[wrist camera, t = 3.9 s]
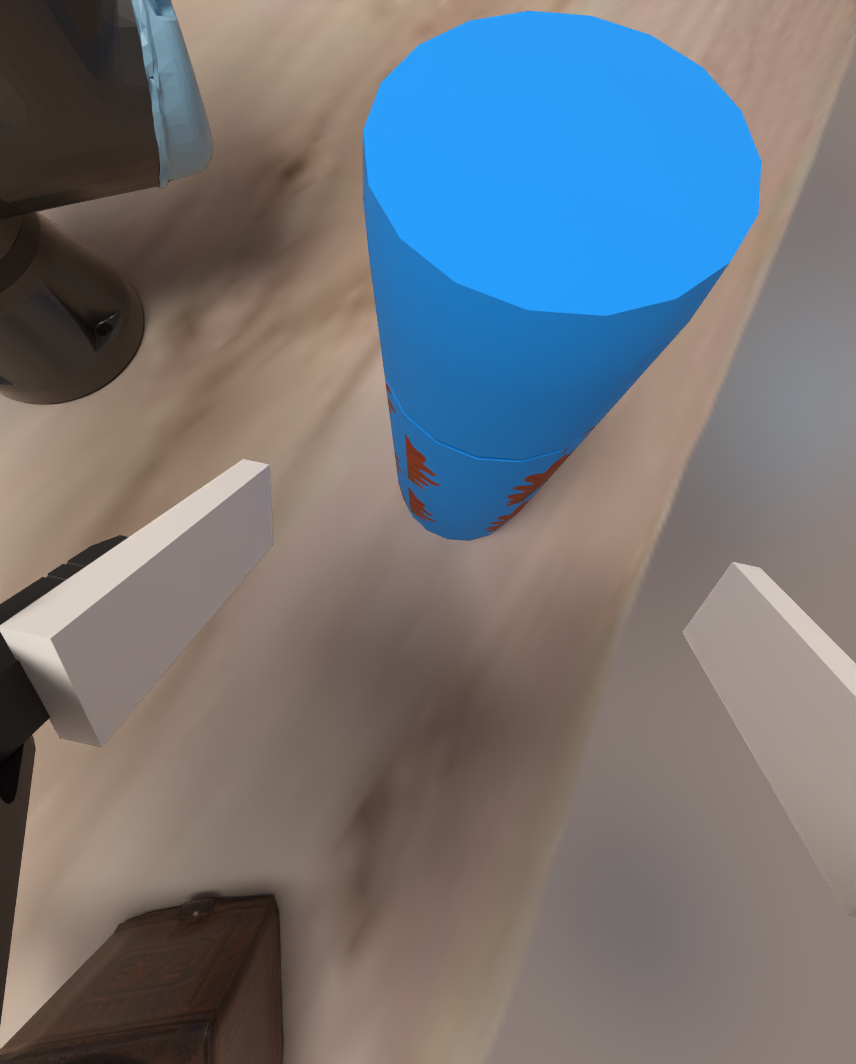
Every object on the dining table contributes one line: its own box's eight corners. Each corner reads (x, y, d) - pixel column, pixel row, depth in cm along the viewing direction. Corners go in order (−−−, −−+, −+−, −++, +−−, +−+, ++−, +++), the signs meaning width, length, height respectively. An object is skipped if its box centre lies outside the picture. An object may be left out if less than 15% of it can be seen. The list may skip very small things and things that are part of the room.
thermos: (523, 430, 36) (744, 23, 12) (522, 546, 34) (800, 337, 9) (403, 421, 36) (373, -7, 12) (393, 538, 33) (330, 304, 9)
